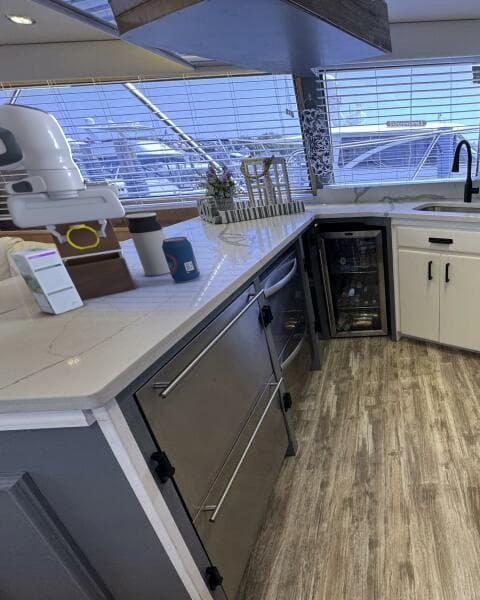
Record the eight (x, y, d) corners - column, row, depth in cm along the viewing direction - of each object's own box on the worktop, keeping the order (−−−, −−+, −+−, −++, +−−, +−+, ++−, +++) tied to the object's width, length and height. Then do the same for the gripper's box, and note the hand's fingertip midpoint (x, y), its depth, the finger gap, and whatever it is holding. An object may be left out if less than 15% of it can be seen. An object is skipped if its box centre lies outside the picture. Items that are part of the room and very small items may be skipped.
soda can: (169, 281, 93) (154, 240, 89) (193, 274, 99) (181, 235, 94) (181, 284, 90) (167, 242, 85) (205, 277, 95) (193, 237, 90)
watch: (102, 245, 86) (93, 222, 84) (103, 246, 84) (93, 223, 82) (72, 249, 82) (61, 226, 80) (72, 251, 81) (61, 227, 78)
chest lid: (104, 204, 89) (104, 205, 90) (40, 210, 82) (40, 210, 82) (121, 249, 92) (121, 249, 93) (61, 258, 85) (61, 258, 86)
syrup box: (85, 305, 79) (57, 247, 73) (55, 315, 74) (22, 254, 68) (70, 303, 80) (42, 246, 75) (40, 313, 75) (7, 252, 70)
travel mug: (181, 270, 103) (162, 212, 96) (154, 277, 97) (132, 217, 90) (167, 267, 107) (148, 212, 100) (140, 274, 100) (118, 216, 93)
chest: (135, 288, 88) (123, 258, 85) (73, 302, 81) (57, 268, 77) (133, 279, 96) (122, 250, 93) (76, 290, 89) (62, 259, 86)
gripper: (114, 179, 85) (133, 231, 91) (-1, 185, 73) (30, 245, 79) (114, 180, 81) (135, 234, 86) (-7, 186, 69) (25, 249, 74)
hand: (84, 240), depth 82 cm, fingers closed on watch, 6 cm apart
